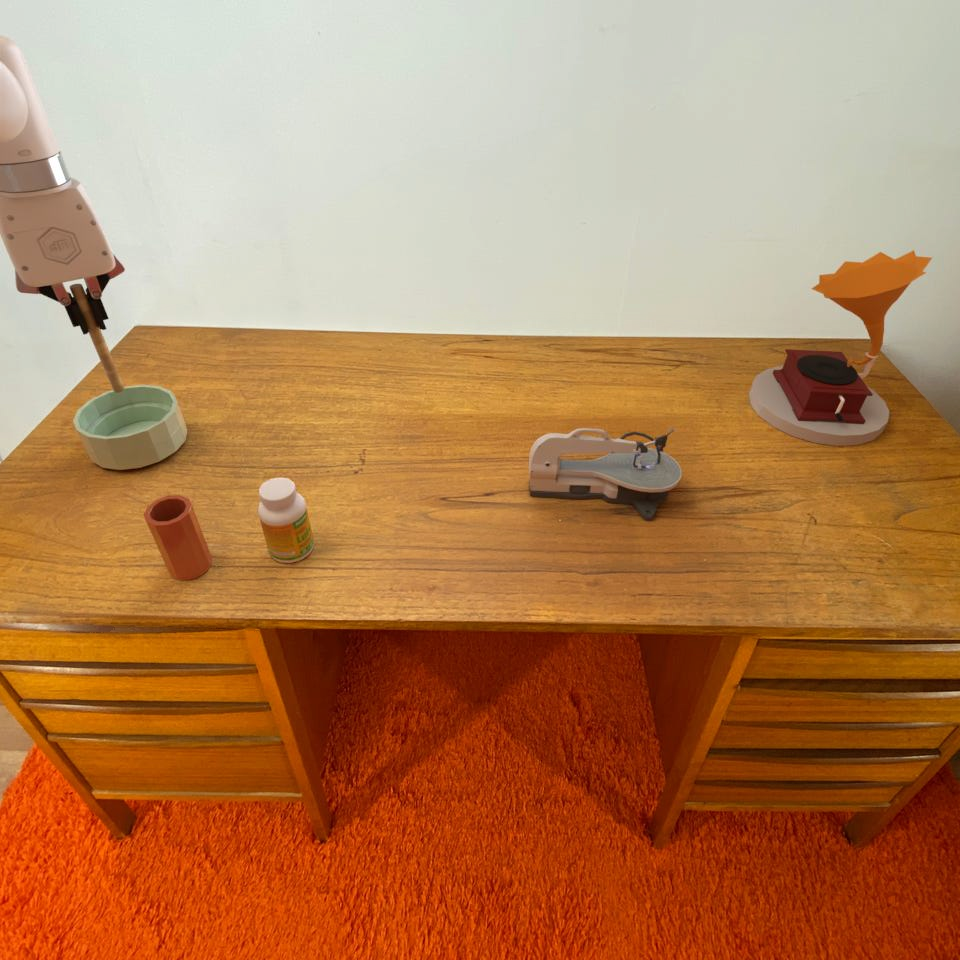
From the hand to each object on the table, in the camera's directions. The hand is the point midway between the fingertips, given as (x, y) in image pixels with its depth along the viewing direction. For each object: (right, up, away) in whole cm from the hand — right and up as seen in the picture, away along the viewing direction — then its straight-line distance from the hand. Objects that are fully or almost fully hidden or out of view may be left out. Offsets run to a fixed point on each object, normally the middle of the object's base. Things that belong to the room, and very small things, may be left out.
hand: (92, 326), depth 81 cm
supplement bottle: (+26, -28, -3) cm, 39 cm away
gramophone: (+104, -8, +22) cm, 106 cm away
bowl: (0, -14, +12) cm, 19 cm away
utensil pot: (+15, -30, -6) cm, 34 cm away
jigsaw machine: (+66, -21, +6) cm, 69 cm away
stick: (0, -7, +6) cm, 10 cm away
